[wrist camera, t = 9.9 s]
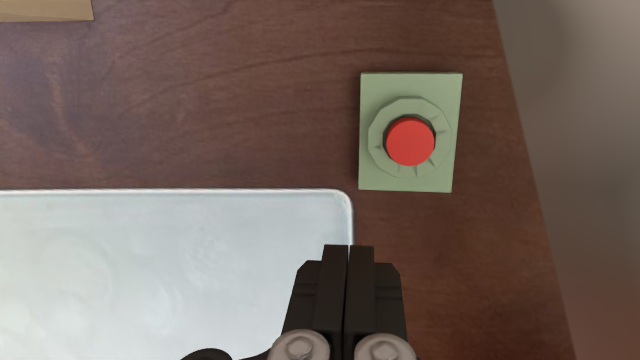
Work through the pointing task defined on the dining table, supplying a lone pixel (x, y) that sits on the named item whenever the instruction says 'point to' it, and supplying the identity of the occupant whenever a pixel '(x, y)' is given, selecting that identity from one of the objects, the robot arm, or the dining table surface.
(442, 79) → the control block
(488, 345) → the dining table surface
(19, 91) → the dining table surface
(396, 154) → the button
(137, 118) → the dining table surface
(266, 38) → the dining table surface
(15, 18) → the cabinet
